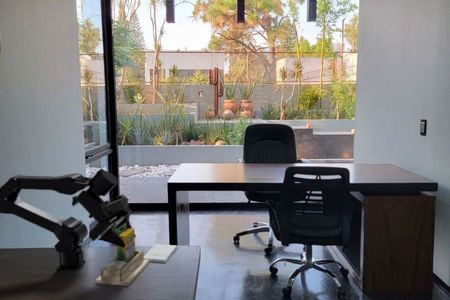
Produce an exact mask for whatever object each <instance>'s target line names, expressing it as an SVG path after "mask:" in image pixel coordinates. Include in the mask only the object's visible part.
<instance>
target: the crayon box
mask: <svg viewBox="0 0 450 300" xmlns="http://www.w3.org/2000/svg"><path fill="white" fill-rule="evenodd" d="M122 227H124V228H123V229H122V231H120V229H121V228H122ZM115 231H116V233H117V234H118V235H119V236H120V238H121V239H122V240H123V241H124V243H125V244H126V246H125V247H124V248H123V247H120V246H117V245H116V257H117V261H125V263H129V262H130V261H131V260H132V259H133V258H134V257H135V250H136V241H135V240H136V237H135V235H136V233H135V231H136V230H135V228H132V229H130V228H126V223H125V224H124V225H122V226H121V227H119V228H118V229H115Z"/></svg>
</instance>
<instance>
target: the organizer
mask: <svg viewBox="0 0 450 300" xmlns="http://www.w3.org/2000/svg"><path fill="white" fill-rule="evenodd" d="M144 253H145V252H144V250H140V249H139V250H138V249H137V250H136V249H135V257H134V258H133V259H132V260H131V261H130V262H129V263H125V261H117V256H115V257H114V258H113V259H112V260H110V261H109V262H108V263H107V264H106V265H105V266H104V267H103V268H102V269H100V275H99V276H98V277H97V278H96V279H95V283H96V284H102V285H111V286H114V285H115V286H116V285H117V286H125V287H127V286H130V284H131V283H133V282H134V280H135V279H136V278H137V277H138V276H139V275H140V273H141V272H142V271H143V270H144V269H145V268H146V267H147V265H148V264H150V262H149V260H144V256H145V254H144Z"/></svg>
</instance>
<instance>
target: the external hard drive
mask: <svg viewBox="0 0 450 300" xmlns="http://www.w3.org/2000/svg"><path fill="white" fill-rule="evenodd" d="M177 249H178V246H177V245H172V244H158V243H157V244H156V243H155V244H154V245H153V246H152V247H151V248H150V250H148V251H147V253H146V254H144V260H149V263H150V262H153V263H162V264H163V263H164V264H165V263H167V262H168V260H169V259H170V257H171V256H172V255H173V254H174V253H175V251H176V250H177Z"/></svg>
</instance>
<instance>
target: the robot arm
mask: <svg viewBox="0 0 450 300" xmlns="http://www.w3.org/2000/svg"><path fill="white" fill-rule="evenodd" d="M118 183H119V181H118V178H117V177H116V176H115V175H114V174H113V173H111V172H109V171H107V170H105V169H103V168H100V169H98V170H97V172H96V173H95V174H94V176H93V177H87V176H84V175H83V174H82V173H79V172H75V173H68V174H63V175H57V176H49V175H47V176H44V175H22V174H17V175H15V176H11V177H10V178H8V180H7V181H6V182H5V183H4V184H3V185H2V186H0V214H2V215H4V214H5V215H12V216H16V217H17V218H20V219H23V220H25V221H27V222H29V223H31V224H34V225H35V226H38V227H39V228H42V229H44V230H46V231H48V232H50V233H52V234H54V236H55V237H56V239H57V240H58V241H57V243H55V245H54V249H55V251H56V252H57V253H58V255H59V257H58V261H59V265H58V266H57V267H56V269H58V270H68V271H69V270H71V271H75V270H78V269H79V268H80V267H81V266H83V264H85V263H86V260H84V251H83V250H82V249H83V248H82V245H81V244H82V243H84V239H85V238H87V236H88V237H89V239H90V240H91V241H92V242H95V241H97V240H98V241H102V242H105V243H109V244H112V245H115V246H116V247H117V246H120V247H123V248H124V247H125V246H126V244H125V243H124V241H123V240H122V239H121V238H120V236H119V235H118V234H117V233H116V230H117V229H118V228H119V227H121V226H122V225H124V224H125V223H126V228H130V229H133V227H132V225H131V222H130V216H131V212H132V209H131V208H130V207H129V203H128V202H129V201H130V200H129V198H128V197H127V196H125V195H124V194H123V193H122V194H120V195H118V196H116V200H114V201H112V202H111V201H110V200H104V199H103V198H102V197H106V196H107V194H108V193H110V191H112V189H114V188H115V186H116V185H117V184H118ZM86 188H87V189H86ZM85 189H86V190H85ZM22 190H34V191H35V190H37V191H38V190H39V191H40V190H41V191H55V192H56V193H58V194H61V195H67V196H72V200H71V201H72V202H71V206H72V207H74V206H77V205H78V204H80V205H81V206H82V207H83V208H84V209H85V211H86V212H88V214H89V215H88V216H87V217H88V218H89V219H94V220H95V221H96V222H97V223H96V225H95V226H93V228H92V229H91V230H90V231H88V226H87V225H86V224H85V223H83V220H78V219H77V218H75V217H73V216H69V217H68V218H67V219H62V218H59V217H57V216H56V215H53V214H51V213H49V212H46V211H44V210H42V209H40V208H38V207H35V206H33V205H32V204H29V203H27V202H25V201H23V200H22V199H21V197H20V195H19V194H20V193H21V192H22ZM80 191H81V192H80ZM77 193H79V194H77ZM75 194H77V195H75ZM73 195H75V196H73ZM101 196H102V197H101ZM123 228H124V227H122V228H121V229H120V230H119V232H120V231H122V229H123ZM136 237H137V235H136V234H135V238H136Z"/></svg>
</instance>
